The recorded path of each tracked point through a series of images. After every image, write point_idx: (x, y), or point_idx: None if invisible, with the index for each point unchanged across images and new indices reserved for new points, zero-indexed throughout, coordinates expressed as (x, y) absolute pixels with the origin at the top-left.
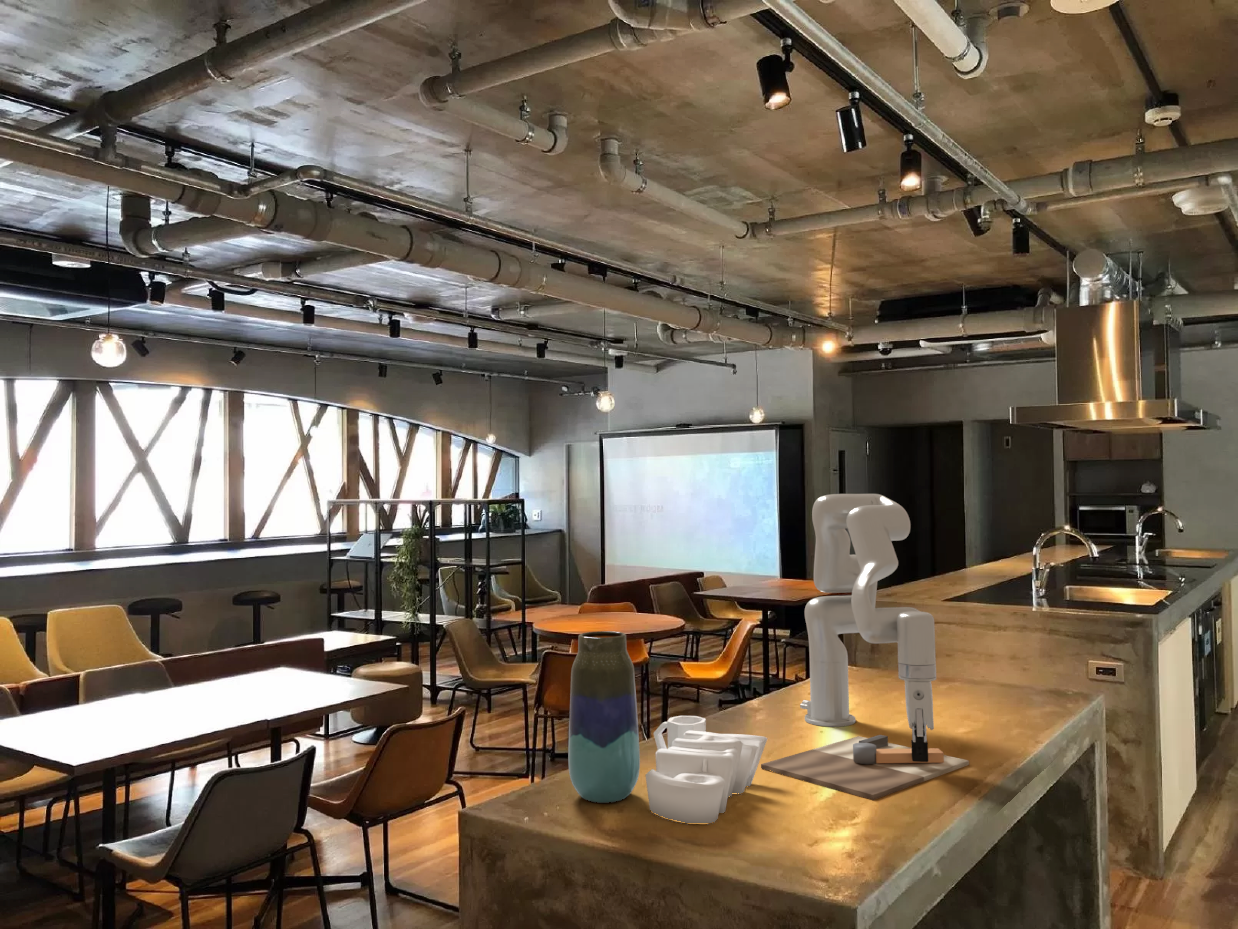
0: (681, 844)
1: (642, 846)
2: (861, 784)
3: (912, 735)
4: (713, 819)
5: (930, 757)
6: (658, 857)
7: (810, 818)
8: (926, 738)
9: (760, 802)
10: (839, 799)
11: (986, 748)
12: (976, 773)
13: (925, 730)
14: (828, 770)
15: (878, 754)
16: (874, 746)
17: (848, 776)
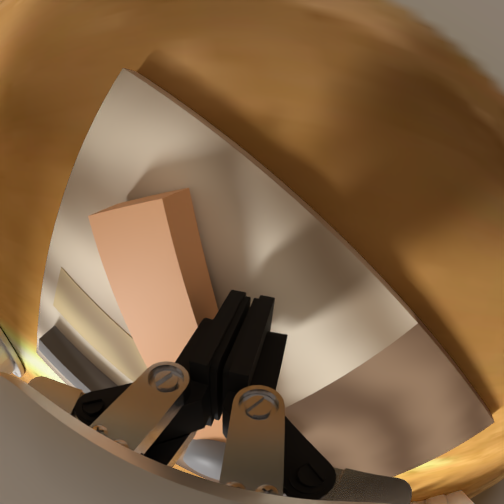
0: (488, 483)
1: (478, 492)
2: (430, 445)
3: (189, 442)
4: (463, 492)
5: (193, 267)
6: (498, 481)
7: (500, 451)
8: (283, 425)
9: (426, 490)
10: (459, 448)
11: (9, 63)
12: (257, 40)
13: (279, 493)
14: None
15: None
16: (222, 461)
17: (366, 462)
